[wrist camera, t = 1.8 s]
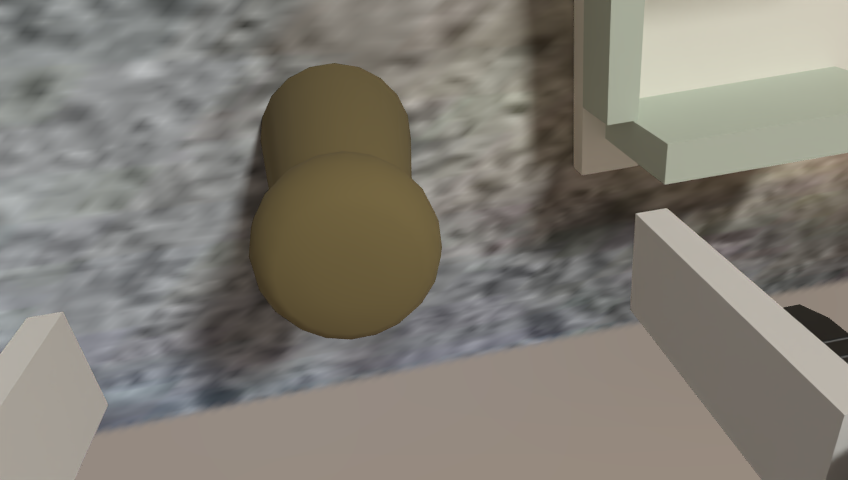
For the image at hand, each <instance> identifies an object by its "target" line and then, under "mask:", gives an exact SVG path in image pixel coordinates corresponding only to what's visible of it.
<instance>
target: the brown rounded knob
mask: <svg viewBox="0 0 848 480" xmlns="http://www.w3.org/2000/svg"><path fill="white" fill-rule="evenodd" d="M261 146H262V152H263V157H264V163H265V169H266V175H267V181H268V187H269V190H268V191H267V192H266V193H265V195H264V197H263V199H262V201H261V203H260V206H259V208H258V210H257V212H256V214H255V216H254V218H253V222H252V226H251V234H250V248H249V258H250V261H251V264H252V268H253V271H254V274H255V277H256V281H257V284H258V287H259V290H260V292H261V293H262V294H263V296H264V297H265V298H266V300H267V301H268V302H269V304H270V305H271V306H272V308H273V309H274V310H275V312H277V313H278V314H280V315H281V316H282V317H284V318H285V319H287V320H288V321H290V322H291V323H292V324H294V325H295V326H297V327H298V328H300V329H302V330H304V331H307V332H310V333H313V334H316V335H319V336H322V337H325V338H337V339H356V338H361V337H366V336H371V335H376V334H378V333H380V332H382V331H384V330H386V329H389V328H391V327H393V326H395V325H397V324H399V323H400V322H401V321H402V320H403V319H404V318H405V317H407V316H408V315H409V314H410V313H411V312H412V311H413V310H415V309H416V308H417V307H418V306H419V305H420V304H421V303H422V302H423V300H424V298H425V297H426V295H427V294H428V292H429V290H430V289H431V287H432V285H433V284H434V282H435V279H436V275H437V271H438V266H439V262H440V257H441V250H442V245H441V237H440V229H439V221H438V219H437V217H436V214H435V212H434V210H433V208H432V206H431V204H430V202H429V201H428V199H427V197H426V195H425V193H424V191H423V189H422V188H421V187H420V186H419V185H418V184H417V183H416V182H415V181H414V180H412V177H411V137H410V130H409V122H408V115H407V113H406V111H405V109H404V107H403V105H402V103H401V101H400V99H399V97H398V95H397V94H396V93H395V92H394V91H393V90H392V89H391V88H390V87H389V86H388V85H387V84H386V83H385V82H384V81H383V80H382V79H381V78H379V77H377V76H375V75H373V74H371V73H369V72H367V71H365V70H363V69H362V68H360V67H355V66H349V65H342V64H336V63H333V64H326V65H320V66H314V67H309V68H307V69H305V70H303V71H302V72H300V73H298V74H296V75H294V76H292V77H290V78H288V79H287V80H286V81H285V82H284V83H283V85H282V86H281V87H280V88H279V89H278V90H277V91H276V92H275V93H274V94H273V95H272V96H271V99H270V101H269V103H268V106H267V108H266V110H265V112H264V115H263V117H262V128H261Z"/></svg>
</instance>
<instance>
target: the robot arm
mask: <svg viewBox="0 0 848 480" xmlns="http://www.w3.org/2000/svg"><path fill="white" fill-rule="evenodd" d="M630 310H631V311H632V312H633V314H634V315H635V316H636V317H637V319H638V320H639V321H640V323H641V324H642V325H643V327H644V328H645V329H646V330H647V332H648V333H649V334H650V336H651V337H652V338H653V340H654V341H655V342H656V343H657V345H658V346H659V347H660V349H661V350H662V351H663V352H664V354H665V355H666V356H667V357H668V359H669V360H670V362H671V363H672V364H673V365H674V367H675V368H676V369H677V371H678V372H679V373H680V374H681V376H682V377H683V378H684V380H685V381H686V382H687V384H688V385H689V386H690V387H691V389H692V390H693V391H694V393H695V394H696V395H697V397H698V398H699V399H700V400H701V402H702V403H703V404H704V406H705V407H706V408H707V410H708V411H709V412H710V413H711V415H712V416H713V417H714V419H715V420H716V421H717V423H718V424H719V425H720V426H721V428H722V429H723V430H724V432H725V433H726V434H727V435H728V437H729V438H730V439H731V441H732V442H733V443H734V444H735V446H736V447H737V448H738V450H739V451H740V452H741V453H742V455H743V456H744V457H745V459H746V460H747V461H748V462H749V464H750V465H751V467H752V468H753V469H754V470H755V472H756V473H757V474H758V476H759V477H760V478H761V479H762V480H848V333H847V332H846V331H844V330H843V329H842V328H841V327H840V326H838V325H837V324H836V323H834V322H833V321H832V320H831V319H830V318H828V317H826V316H824V315H821V314H819V313H817V312H815V311H813V310H811V309H808V308H806V307H804V306H802V305H794V306H789V307H784V308H782V307H781V306H780V305H779V304H778V303H777V302H775V301H774V300H773V299H772V298H771V297H770V296H768V295H767V294H766V293H765V292H764V291H763V290H761V289H760V288H759V287H758V286H757V285H756V284H754V283H753V282H752V281H751V280H750V279H749V278H747V277H746V276H745V275H744V274H743V273H742V272H740V271H739V270H738V269H737V268H736V267H735V266H734V265H732V264H731V263H730V262H729V261H728V260H727V259H725V258H724V257H723V256H722V255H721V254H720V253H718V252H717V251H716V250H715V249H714V248H713V247H711V246H710V245H709V244H708V243H707V242H706V241H704V240H703V239H702V238H701V237H700V236H699V235H698V234H696V233H695V232H694V231H693V230H692V229H691V228H689V227H688V226H687V225H686V224H685V223H684V222H682V221H681V220H680V219H679V218H678V217H677V216H675V215H674V214H673V213H672V212H671V211H670V210H668V209H667V208H665V209H659V210H653V211H647V212H641V213H636V216H635V234H634V252H633V269H632V287H631V305H630ZM107 406H108V403H107V401H106V399H105V397H104V395H103V393H102V391H101V389H100V387H99V385H98V383H97V381H96V379H95V377H94V375H93V373H92V371H91V368H90V366H89V364H88V362H87V360H86V358H85V356H84V354H83V352H82V350H81V348H80V346H79V344H78V342H77V340H76V338H75V336H74V334H73V331H72V329H71V327H70V325H69V323H68V321H67V319H66V317H65V315H64V313H63V312H58V313H52V314H46V315H41V316H35V317H29V318H27V319H26V320H25V321H24V323H23V324H22V325H21V327H20V328H19V329H18V331H17V332H16V333H15V335H14V336H13V338H12V339H11V340H10V342H9V343H8V344H7V346H6V347H5V348H4V350H3V351H2V352H1V354H0V480H75V478H76V476H77V474H78V471H79V469H80V467H81V465H82V462H83V460H84V458H85V456H86V453H87V451H88V449H89V447H90V444H91V442H92V440H93V438H94V435H95V433H96V431H97V429H98V426H99V424H100V422H101V420H102V417H103V415H104V413H105V411H106V408H107Z"/></svg>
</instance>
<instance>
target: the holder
mask: <svg viewBox="0 0 848 480" xmlns="http://www.w3.org/2000/svg"><path fill="white" fill-rule="evenodd" d="M843 153H848V0H574V168H575V169H576V170H577V171H578V172H579V173H580V174H581V175H588V174H594V173H599V172H605V171H611V170H617V169H623V168H628V167H634V166H641V167H642V168H644V169H645V170H646V171H648V172H649V173H650V174H651V175H653V176H654V177H655V178H657V179H658V180H659V181H660V182H662V183H663V184H664V185H666V184H672V183H677V182H683V181H689V180H694V179H700V178H706V177H712V176H717V175H723V174H729V173H734V172H740V171H746V170H752V169H757V168H763V167H769V166H774V165H780V164H786V163H791V162H797V161H803V160H809V159H814V158H820V157H826V156H831V155H837V154H843Z"/></svg>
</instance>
